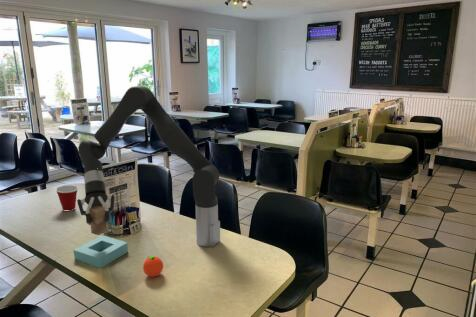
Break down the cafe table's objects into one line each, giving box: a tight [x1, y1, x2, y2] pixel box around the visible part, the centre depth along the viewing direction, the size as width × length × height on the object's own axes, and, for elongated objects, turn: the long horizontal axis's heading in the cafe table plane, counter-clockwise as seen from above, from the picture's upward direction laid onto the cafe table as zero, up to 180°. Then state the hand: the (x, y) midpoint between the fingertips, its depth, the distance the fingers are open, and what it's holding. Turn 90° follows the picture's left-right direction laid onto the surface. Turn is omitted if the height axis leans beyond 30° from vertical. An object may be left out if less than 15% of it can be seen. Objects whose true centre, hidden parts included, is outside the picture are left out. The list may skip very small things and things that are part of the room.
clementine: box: [142, 254, 164, 278], centre depth 126 cm, size 8×7×7 cm
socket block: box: [73, 234, 129, 269], centre depth 139 cm, size 14×14×4 cm
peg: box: [89, 206, 108, 236], centre depth 136 cm, size 4×4×10 cm
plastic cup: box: [55, 184, 79, 211], centre depth 184 cm, size 11×11×12 cm
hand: (98, 222), depth 135 cm, fingers closed on peg, 5 cm apart
